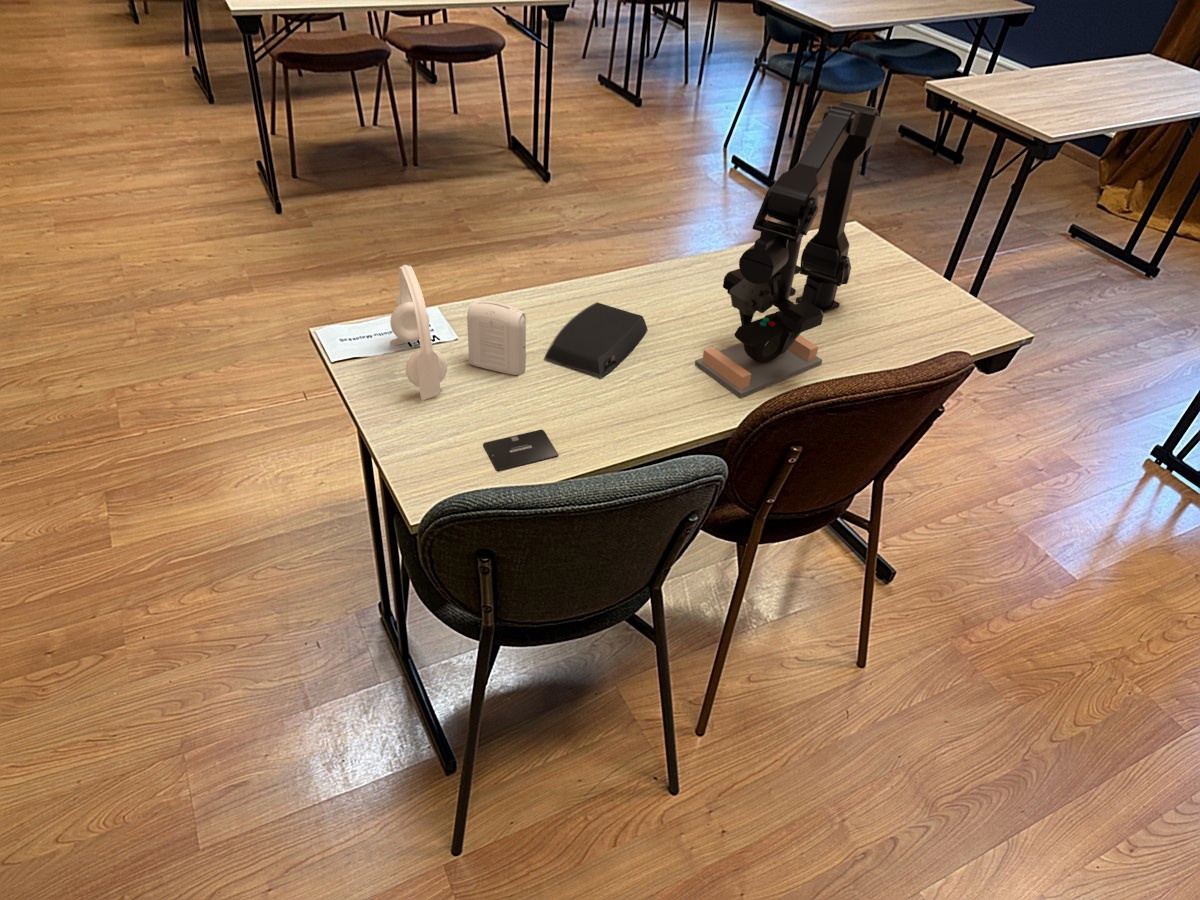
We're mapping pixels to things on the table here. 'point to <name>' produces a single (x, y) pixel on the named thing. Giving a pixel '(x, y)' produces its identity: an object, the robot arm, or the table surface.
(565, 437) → the table surface
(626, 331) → the external hard drive
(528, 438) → the solid state drive
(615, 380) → the table surface
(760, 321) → the controller
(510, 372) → the photo printer
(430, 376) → the headset
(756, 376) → the dock
